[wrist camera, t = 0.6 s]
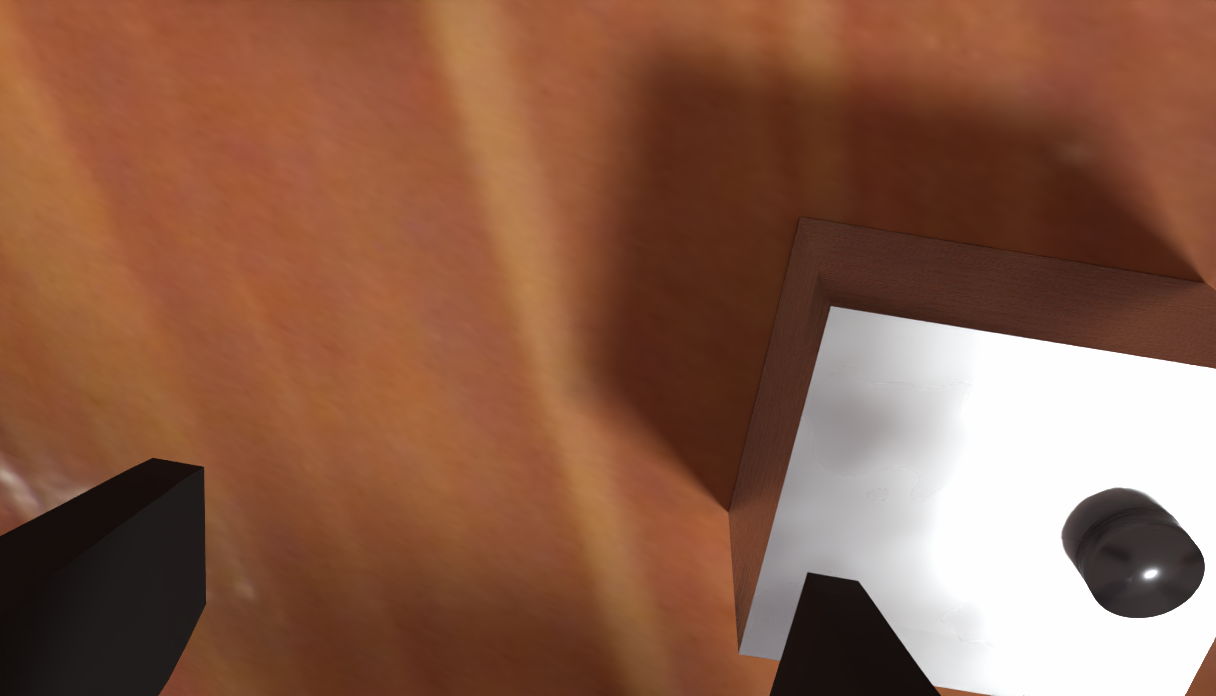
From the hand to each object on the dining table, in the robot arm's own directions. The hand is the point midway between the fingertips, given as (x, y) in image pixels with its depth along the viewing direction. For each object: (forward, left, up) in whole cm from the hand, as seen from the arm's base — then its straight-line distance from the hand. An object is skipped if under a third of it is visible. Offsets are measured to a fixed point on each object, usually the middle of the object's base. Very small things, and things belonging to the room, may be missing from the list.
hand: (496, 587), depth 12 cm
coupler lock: (-1, -8, -9) cm, 13 cm away
